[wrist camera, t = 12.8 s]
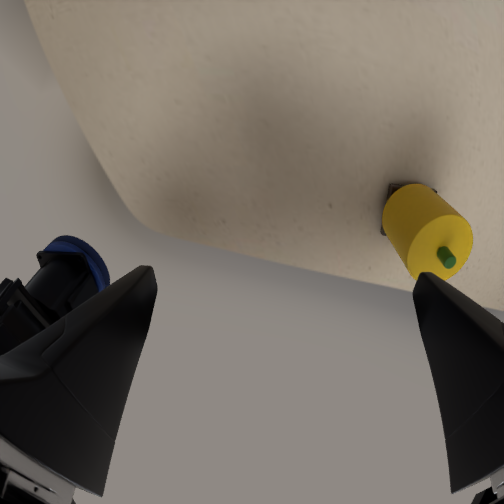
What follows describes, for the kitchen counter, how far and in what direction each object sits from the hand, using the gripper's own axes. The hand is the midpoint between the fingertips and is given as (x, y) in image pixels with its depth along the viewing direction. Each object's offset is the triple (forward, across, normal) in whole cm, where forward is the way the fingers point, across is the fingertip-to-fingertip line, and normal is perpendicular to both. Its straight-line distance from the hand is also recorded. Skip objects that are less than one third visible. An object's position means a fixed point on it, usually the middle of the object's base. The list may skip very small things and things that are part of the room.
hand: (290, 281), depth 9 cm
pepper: (+11, -10, +2) cm, 15 cm away
